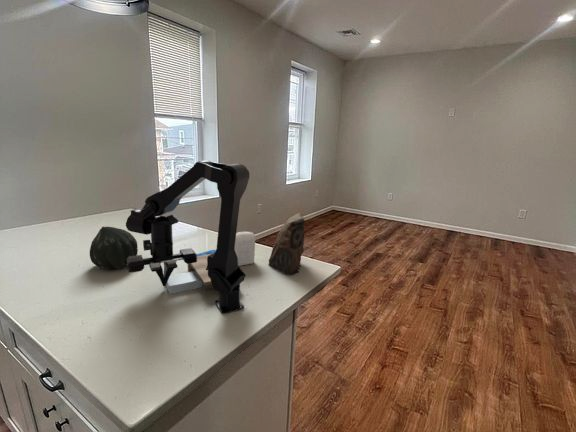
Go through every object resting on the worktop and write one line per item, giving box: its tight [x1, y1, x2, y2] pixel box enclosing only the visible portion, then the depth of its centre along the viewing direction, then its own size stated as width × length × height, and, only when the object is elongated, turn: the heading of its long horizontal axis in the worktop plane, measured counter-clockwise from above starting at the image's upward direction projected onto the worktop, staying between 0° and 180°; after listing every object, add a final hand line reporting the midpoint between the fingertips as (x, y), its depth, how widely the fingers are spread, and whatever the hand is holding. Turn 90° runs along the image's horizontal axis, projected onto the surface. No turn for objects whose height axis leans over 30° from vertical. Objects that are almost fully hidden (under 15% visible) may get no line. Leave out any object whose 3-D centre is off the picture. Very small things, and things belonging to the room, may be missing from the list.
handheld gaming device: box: [183, 249, 216, 261], centre depth 118 cm, size 8×1×15 cm
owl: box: [267, 211, 306, 276], centre depth 110 cm, size 13×13×20 cm
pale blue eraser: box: [165, 271, 204, 295], centre depth 97 cm, size 7×14×2 cm, turn 121°
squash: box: [89, 226, 139, 271], centre depth 106 cm, size 14×15×15 cm
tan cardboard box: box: [187, 254, 214, 290], centre depth 100 cm, size 20×11×5 cm, turn 31°
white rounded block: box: [234, 231, 256, 267], centre depth 113 cm, size 10×4×12 cm, turn 123°
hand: (164, 285), depth 93 cm, fingers closed
